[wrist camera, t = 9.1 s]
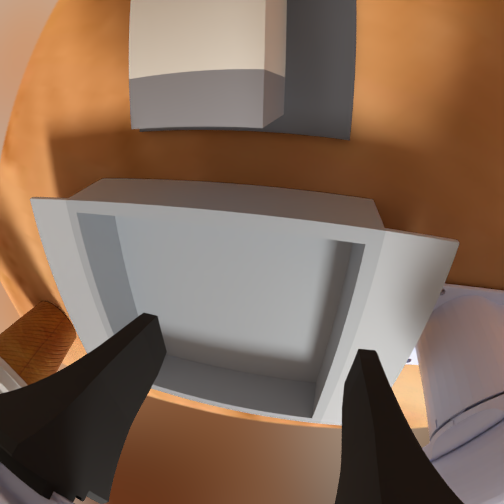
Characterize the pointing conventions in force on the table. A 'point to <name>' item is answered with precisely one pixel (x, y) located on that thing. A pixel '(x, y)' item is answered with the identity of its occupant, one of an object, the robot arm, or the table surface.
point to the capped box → (206, 63)
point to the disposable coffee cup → (34, 346)
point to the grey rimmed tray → (245, 286)
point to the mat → (314, 71)
